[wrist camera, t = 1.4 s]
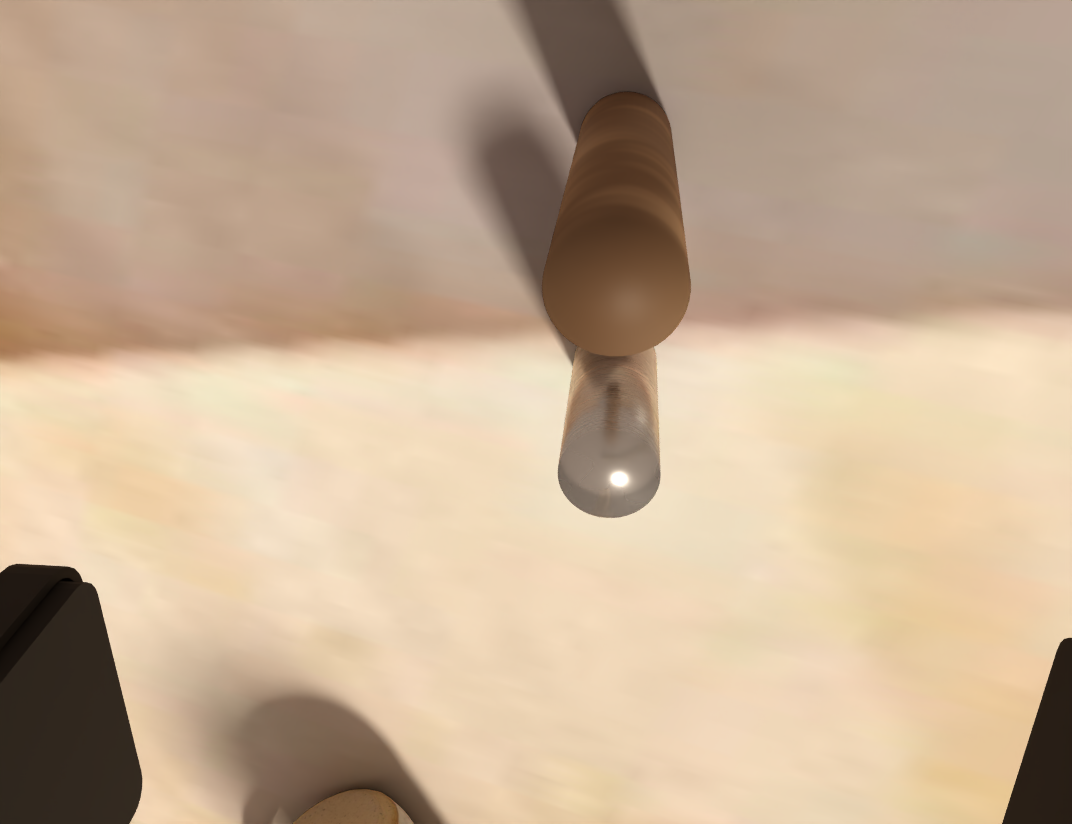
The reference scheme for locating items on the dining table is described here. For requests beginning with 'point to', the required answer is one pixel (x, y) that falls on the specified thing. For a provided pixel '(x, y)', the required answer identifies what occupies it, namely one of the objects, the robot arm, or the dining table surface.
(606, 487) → the medium pin
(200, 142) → the dining table surface
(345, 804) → the ceramic mug
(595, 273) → the long pin
